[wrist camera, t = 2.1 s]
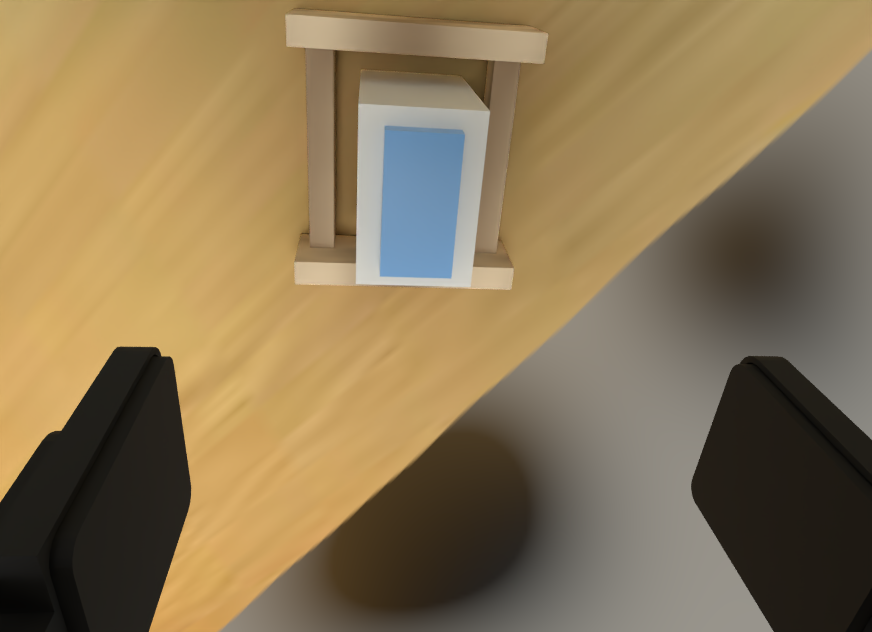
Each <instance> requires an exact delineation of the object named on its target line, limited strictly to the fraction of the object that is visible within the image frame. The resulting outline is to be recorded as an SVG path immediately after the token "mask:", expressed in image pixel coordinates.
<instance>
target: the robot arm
mask: <svg viewBox="0 0 872 632" xmlns="http://www.w3.org/2000/svg"><path fill="white" fill-rule="evenodd" d="M691 490H692V495H693V499H694V501H695V503H696V505H697V506H698V508H699V510H700V511H701V513H702V514H703V516H704V518H705V519H706V521H707V523H708V524H709V526H710V527H711V529H712V531H713V533H714V534H715V536H716V537H717V539H718V541H719V542H720V544H721V546H722V547H723V549H724V551H725V552H726V554H727V555H728V557H729V559H730V560H731V562H732V564H733V565H734V567H735V569H736V570H737V572H738V574H739V575H740V577H741V579H742V580H743V582H744V583H745V585H746V587H747V588H748V590H749V592H750V593H751V595H752V597H753V598H754V600H755V602H756V603H757V605H758V606H759V608H760V610H761V611H762V613H763V615H764V616H765V618H766V620H767V621H768V623H769V625H770V626H771V628H772V629H773V631H774V632H872V440H871V439H870V438H869V437H868V436H867V435H866V434H865V433H864V432H863V431H862V430H861V429H860V428H859V427H857V426H856V425H855V424H854V423H853V422H852V421H851V420H850V419H849V418H848V417H847V416H846V415H845V414H844V413H843V412H842V411H841V410H839V409H838V408H837V407H836V406H835V405H834V404H833V403H832V402H831V401H830V400H829V399H828V398H827V397H826V396H825V395H823V393H821V392H820V391H819V390H818V389H817V388H816V387H815V386H814V385H813V384H812V383H811V382H810V381H809V380H807V379H806V378H805V377H804V376H803V375H802V374H801V373H800V372H799V371H798V370H797V369H796V368H795V367H794V366H793V365H792V364H791V363H790V362H788V360H786V359H784V358H783V357H775V356H774V357H773V356H748V357H745V358H744V359H743V360H742V361H741V363H740V364H738V365H735V366H734V367H733V368H732V370H731V372H730V375H729V378H728V380H727V383H726V386H725V389H724V392H723V394H722V397H721V400H720V403H719V405H718V408H717V411H716V414H715V417H714V420H713V422H712V426H711V428H710V431H709V434H708V437H707V439H706V442H705V445H704V448H703V450H702V453H701V456H700V459H699V462H698V465H697V467H696V470H695V473H694V476H693V479H692V484H691ZM190 499H191V482H190V475H189V468H188V461H187V454H186V447H185V440H184V433H183V426H182V419H181V412H180V405H179V398H178V391H177V384H176V377H175V370H174V364H173V360H172V358H171V357H161V353H160V351H159V349H158V348H156V347H117V348H116V349H115V350H114V351H113V353H112V354H111V356H110V357H109V359H108V360H107V362H106V363H105V365H104V366H103V368H102V370H101V371H100V373H99V374H98V376H97V377H96V379H95V380H94V382H93V383H92V385H91V386H90V388H89V389H88V391H87V392H86V394H85V396H84V397H83V399H82V400H81V402H80V403H79V405H78V406H77V408H76V409H75V411H74V412H73V414H72V415H71V417H70V419H69V420H68V422H67V423H66V425H65V426H64V428H63V429H62V431H54V432H52V433H50V434H48V435H47V436H46V437H45V438H44V440H43V441H42V442H41V443H40V445H39V446H38V448H37V449H36V451H35V452H34V454H33V455H32V457H31V458H30V460H29V461H28V463H27V464H26V465H25V467H24V468H23V470H22V471H21V473H20V474H19V476H18V477H17V479H16V480H15V482H14V483H13V485H12V486H11V488H10V489H9V491H8V492H7V493H6V495H5V496H4V498H3V499H2V501H1V502H0V632H149V629H150V626H151V623H152V620H153V617H154V614H155V611H156V608H157V604H158V601H159V598H160V595H161V592H162V589H163V586H164V583H165V580H166V577H167V574H168V571H169V568H170V565H171V562H172V558H173V555H174V552H175V549H176V546H177V543H178V540H179V537H180V534H181V531H182V528H183V525H184V522H185V519H186V516H187V513H188V509H189V505H190Z"/></svg>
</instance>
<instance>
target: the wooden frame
mask: <svg viewBox="0 0 872 632" xmlns="http://www.w3.org/2000/svg"><path fill="white" fill-rule="evenodd" d="M285 18H286V46H287V47H301V48H305V53H306V96H307V140H308V184H309V228H310V234H301V236H300V241H299V245H298V249H297V253H296V257H295V261H294V268H295V284H306V285H345V286H385V287H424V288H464V289H504V290H511V287H512V281H513V274H514V267H513V264H512V262H511V260H510V258H509V256H508V254H507V252H506V250H505V248H504V245H503V243H502V241H498V236H499V228H500V220H501V213H502V205H503V197H504V190H505V182H506V174H507V166H508V159H509V151H510V143H511V135H512V128H513V120H514V112H515V104H516V97H517V89H518V81H519V73H520V66H521V62H522V63H537V64H544V61H545V54H546V47H547V40H548V33H546V32H544V31H541V30H539V29H536V28H534V27H531V26H525V25H511V24H498V23H484V22H471V21H458V20H444V19H431V18H418V17H404V16H391V15H377V14H364V13H351V12H337V11H324V10H310V9H297V8H294V9H293V10H291V11H290V12H288V13H286V14H285ZM335 50H345V51H360V52H374V53H389V54H404V55H419V56H434V57H448V58H463V59H478V60H488V64H487V73H486V83H485V92H484V101H483V103H484V104H485V106H486V107H487V108H488V109H489V111H490V117H489V126H488V135H487V144H486V153H485V162H484V171H483V180H482V189H481V198H480V207H479V216H478V225H477V234H476V243H475V252H474V261H473V270H472V279H471V287H445V286H406V285H368V284H356V236H349V235H336V223H335Z"/></svg>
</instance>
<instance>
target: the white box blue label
mask: <svg viewBox="0 0 872 632" xmlns="http://www.w3.org/2000/svg"><path fill="white" fill-rule="evenodd" d="M489 117H490V111H489V109H488V108H487V107H486V106H485V104H484V103H483V102H482V101H481V99H480V98H479V97H478V96H477V94H476V93H475V92H474V91H473V90H472V88H471V87H470V86H469V85H468V83H467V82H466V81H465V80H464V78H463V77H462V76H458V75H443V74H427V73H412V72H396V71H381V70H366V69H361V75H360V89H359V103H358V166H357V233H356V284H368V285H406V286H445V287H471V279H472V270H473V261H474V252H475V243H476V234H477V225H478V216H479V207H480V198H481V189H482V180H483V171H484V162H485V153H486V144H487V135H488V126H489Z"/></svg>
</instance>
